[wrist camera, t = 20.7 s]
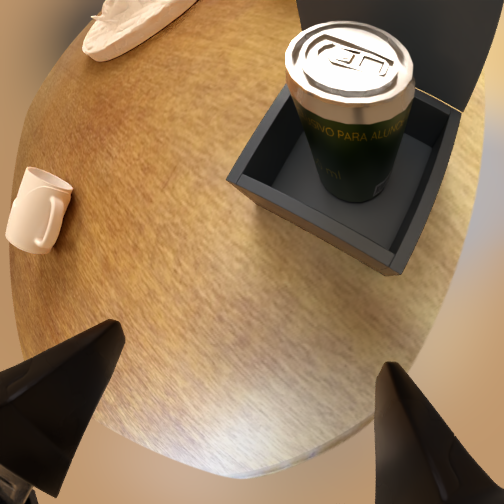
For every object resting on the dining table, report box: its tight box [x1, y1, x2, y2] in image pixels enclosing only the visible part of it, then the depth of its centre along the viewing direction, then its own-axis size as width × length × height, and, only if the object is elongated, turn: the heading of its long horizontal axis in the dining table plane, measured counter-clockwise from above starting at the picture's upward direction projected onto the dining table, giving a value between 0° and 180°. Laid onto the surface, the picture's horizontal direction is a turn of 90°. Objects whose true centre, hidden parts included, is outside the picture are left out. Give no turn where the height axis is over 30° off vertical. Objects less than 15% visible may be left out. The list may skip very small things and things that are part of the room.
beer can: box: [286, 21, 416, 202], centre depth 13 cm, size 5×5×12 cm
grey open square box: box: [226, 84, 461, 276], centre depth 17 cm, size 12×12×6 cm
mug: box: [5, 167, 73, 254], centre depth 28 cm, size 12×9×8 cm
